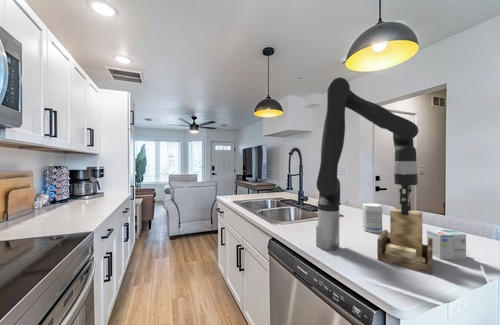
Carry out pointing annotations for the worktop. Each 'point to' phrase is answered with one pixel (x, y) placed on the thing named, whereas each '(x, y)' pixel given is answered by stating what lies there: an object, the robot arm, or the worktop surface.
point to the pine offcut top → (401, 251)
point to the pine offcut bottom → (418, 259)
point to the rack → (426, 253)
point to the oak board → (406, 230)
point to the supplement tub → (372, 217)
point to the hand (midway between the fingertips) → (406, 213)
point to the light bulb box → (448, 244)
